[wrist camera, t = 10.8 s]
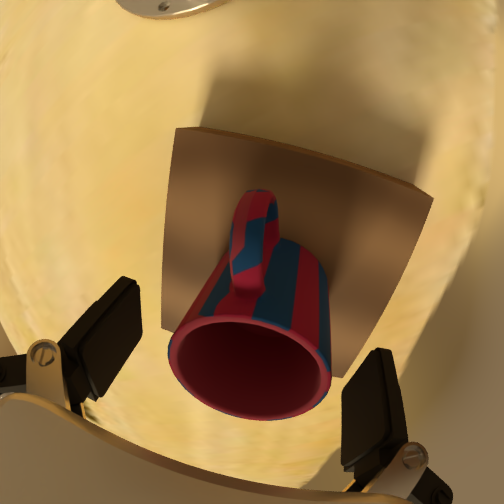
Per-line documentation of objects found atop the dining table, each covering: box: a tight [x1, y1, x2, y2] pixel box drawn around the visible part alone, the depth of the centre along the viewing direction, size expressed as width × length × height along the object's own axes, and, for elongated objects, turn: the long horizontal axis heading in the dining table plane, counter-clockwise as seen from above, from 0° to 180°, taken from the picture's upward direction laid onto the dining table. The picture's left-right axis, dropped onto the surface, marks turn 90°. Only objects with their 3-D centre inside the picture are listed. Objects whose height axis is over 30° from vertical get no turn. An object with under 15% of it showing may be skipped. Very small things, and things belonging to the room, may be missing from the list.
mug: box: [168, 189, 332, 421], centre depth 13 cm, size 7×10×7 cm
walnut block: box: [161, 127, 434, 378], centre depth 18 cm, size 14×14×4 cm
